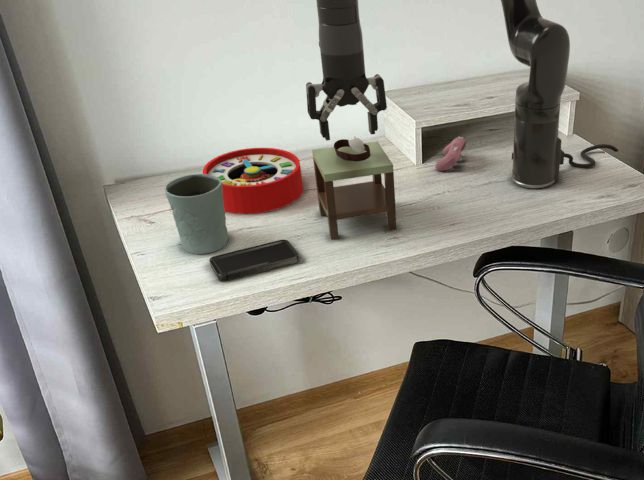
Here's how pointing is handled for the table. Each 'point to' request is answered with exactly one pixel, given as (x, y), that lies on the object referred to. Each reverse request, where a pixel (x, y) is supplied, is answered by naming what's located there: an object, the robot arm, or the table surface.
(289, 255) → the phone
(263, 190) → the toy clock
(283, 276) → the table surface
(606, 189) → the table surface
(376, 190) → the small side table
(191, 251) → the grey-green cup
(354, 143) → the watch
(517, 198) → the table surface
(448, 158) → the video game controller
